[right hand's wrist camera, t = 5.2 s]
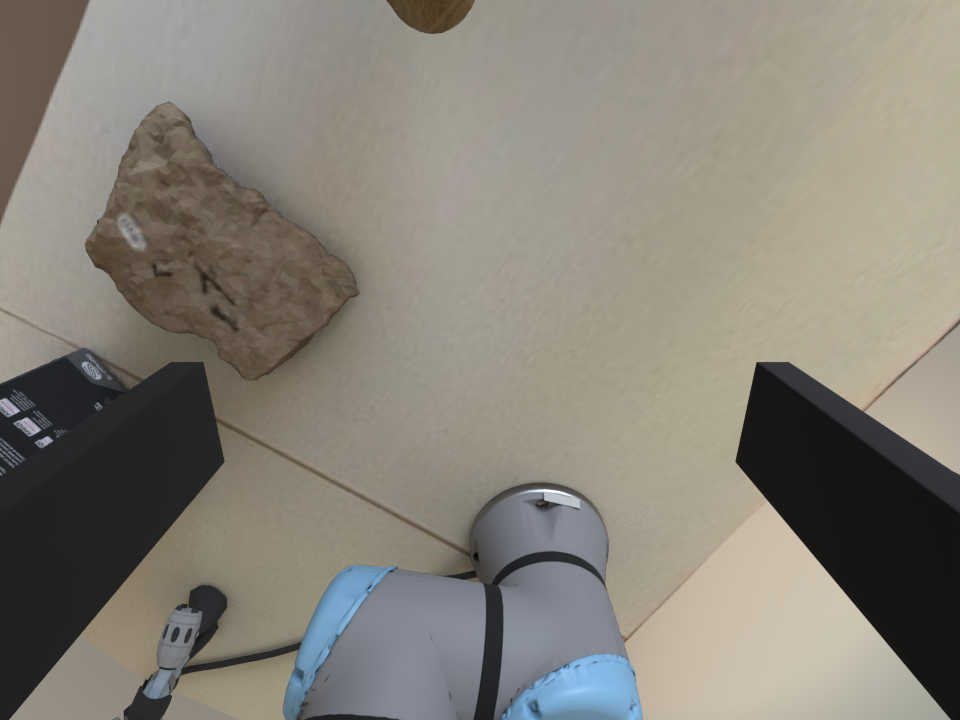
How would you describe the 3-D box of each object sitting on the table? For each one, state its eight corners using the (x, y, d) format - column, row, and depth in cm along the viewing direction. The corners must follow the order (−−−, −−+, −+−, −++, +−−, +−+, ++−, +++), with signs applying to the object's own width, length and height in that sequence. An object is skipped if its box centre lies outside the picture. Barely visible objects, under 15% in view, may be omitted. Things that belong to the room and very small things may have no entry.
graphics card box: (38, 374, 51) (-402, 581, 25) (87, 337, 50) (-326, 517, 24) (164, 496, 56) (-98, 771, 30) (211, 465, 55) (-22, 726, 29)
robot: (202, 671, 65) (91, 874, 46) (164, 659, 64) (35, 860, 46) (249, 559, 59) (143, 741, 40) (207, 544, 58) (79, 723, 40)
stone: (52, 231, 43) (13, 236, 38) (173, 100, 43) (151, 87, 37) (264, 383, 52) (257, 406, 46) (365, 276, 51) (370, 286, 46)
